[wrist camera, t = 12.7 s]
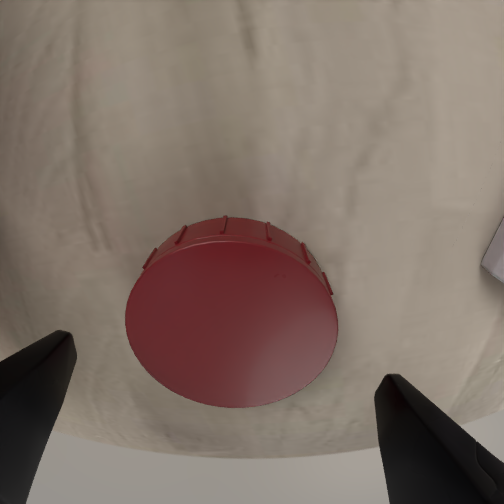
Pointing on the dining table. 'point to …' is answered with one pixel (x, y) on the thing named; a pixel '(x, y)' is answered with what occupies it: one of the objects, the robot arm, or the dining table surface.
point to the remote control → (495, 255)
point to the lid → (232, 314)
